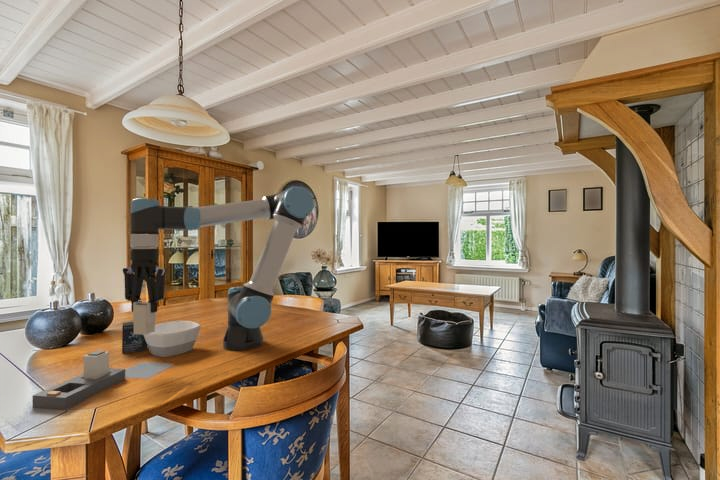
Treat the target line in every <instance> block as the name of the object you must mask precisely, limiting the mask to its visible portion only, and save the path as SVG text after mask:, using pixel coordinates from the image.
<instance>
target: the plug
mask: <svg viewBox="0 0 720 480" xmlns="http://www.w3.org/2000/svg"><path fill="white" fill-rule="evenodd" d="M109 368H110V351H106V350H95V351H91V352H89V353H87V354H85V355H83V374H84V379H99V378H101V377H103V376H105V375H107V374H109Z"/></svg>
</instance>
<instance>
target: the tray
mask: <svg viewBox="0 0 720 480" xmlns="http://www.w3.org/2000/svg"><path fill="white" fill-rule="evenodd" d="M174 365H175V363H170V362H169V363H167V362H166V363H165V362H153V361H152V362H149V361H140V362H139V363H137V364H135V365H133V366H130V367H128V368H126V369H125V379H126V378H129V379H141V380H143V379H144V380H149V379H150V378H153V377H154V376H156V375H158V374H160V373H161V372H163V371H166V370H167V369H169V368H170V367H172V366H174Z"/></svg>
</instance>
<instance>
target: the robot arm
mask: <svg viewBox="0 0 720 480" xmlns="http://www.w3.org/2000/svg"><path fill="white" fill-rule="evenodd" d="M314 205H315V200H314V198H313V195H312V193H311V192H310V191H309V190H308V189H306V188H304V187H301V186H291V187H288V188H287V189H285V190H282V191H279V192H277V193H273V194H271V195H264V196H262V198H261V199H252V200H246V201H245V200H244V201H236V202H229V203H222V204H221V203H219V204H214V205H212V204H211V205H206V206H197V207H195V206H194V207H192V206H165V205H161V204H160V201H159V200H158V199H156V198H155V199H154V198H144V197H143V198H142V197H137V198H133V199H132V200H131V202H130V212H129V213H130V215H129V216H130V238H129V239H130V244H129V246H130V247H131V249H130V250H129V251H130V252H129V253H130V257H129V258H130V261H131V263H130V266H129V267H124V268H122V272H123V278H124V299H125V300H128V301H130V302H131V309H130V310H131V312H132V313H133V314H132V317H133V318H132V322H133V323H134V305H136V304H137V303H141V302H143V300H142V298H141V296H142V295H141V294H142V289H143V285H144V284H143V283H144V281H145V282H146V288H147V295H148V300H149V301H147V302H148V303H147V324H150V323H153V322H155V323H156V313H157V312H158V302H159V301H162V300H164V297H165V278H166V274H167V270H168V269H167V268H162V267H160V266H159V264H158V262H159V261H158V260H159V259H160V257H159V256H160V255H159V254H160V252H159V251H160V250H159V249H158V247H159V245H160V243H159V242H160V241H159V240H160V239H159V236H160V235H159V234H160V230H171V231H172V230H173V231H178V232H179V231H198V230H200V229H201V228H205V227H211V226H212V227H213V226H219V225H225V224H231V223H238V222H239V223H240V222H246V221H251V220H252V221H253V220H259V219H266V220H267V221H268V220H274V222H273V225H272V228H271V230H270V231H269V235H268V236H267V239H266V241H265V243H264V247H263V249H262V251H261V253H260V256H259V258H258V261H257V263H256V265H255V268H254V270H253V272H252V275H251V277H250V279H249V281H248V282H246V283H243V285H242V286H233V287H230V288H229V289H227V327H226V330H225V333H224V337H223V340H222V348H224V349H225V350H228V351H248V350H252V349H255V348H260V347H261V346H262V345H264V336H263V332H262V330H261V327H262V326H263V325H265V324H266V323H267V322H268V320H269V319H270V317H271V314H272V306H271V304H272V302H273V300H274V297H275V293H274V291H273V290H274V289H273V288H274V286H275V283H276V281H277V279H278V276H279V273H280V271H281V269H282V266H283V265H284V261H285V259H286V257H287V254H288V251H289V249H290V247H291V244H292V241H293V239H294V238H295V234H296V232H297V230H298V229H301V228H302V227H303V225H304V223H305V220H306V218H307V217H309V215H311V214H312V212H313V210H314V207H315V206H314Z"/></svg>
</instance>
